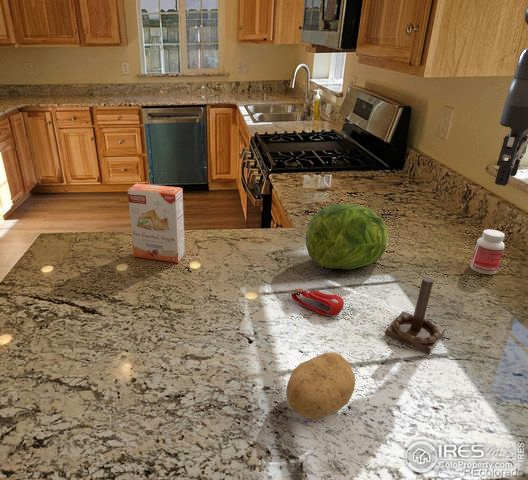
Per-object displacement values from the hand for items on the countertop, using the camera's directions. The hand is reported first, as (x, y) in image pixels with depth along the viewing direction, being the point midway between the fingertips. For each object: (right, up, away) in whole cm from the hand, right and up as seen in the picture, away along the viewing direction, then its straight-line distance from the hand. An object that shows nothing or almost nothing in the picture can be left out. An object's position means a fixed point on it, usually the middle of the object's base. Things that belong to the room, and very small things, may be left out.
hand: (505, 179), depth 92 cm
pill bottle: (+9, -21, +22) cm, 32 cm away
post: (-21, -33, -2) cm, 39 cm away
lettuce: (-26, -19, +26) cm, 42 cm away
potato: (-46, -42, -19) cm, 65 cm away
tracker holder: (-39, -28, +9) cm, 49 cm away
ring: (-21, -32, -4) cm, 38 cm away
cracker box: (-79, -18, +31) cm, 87 cm away
